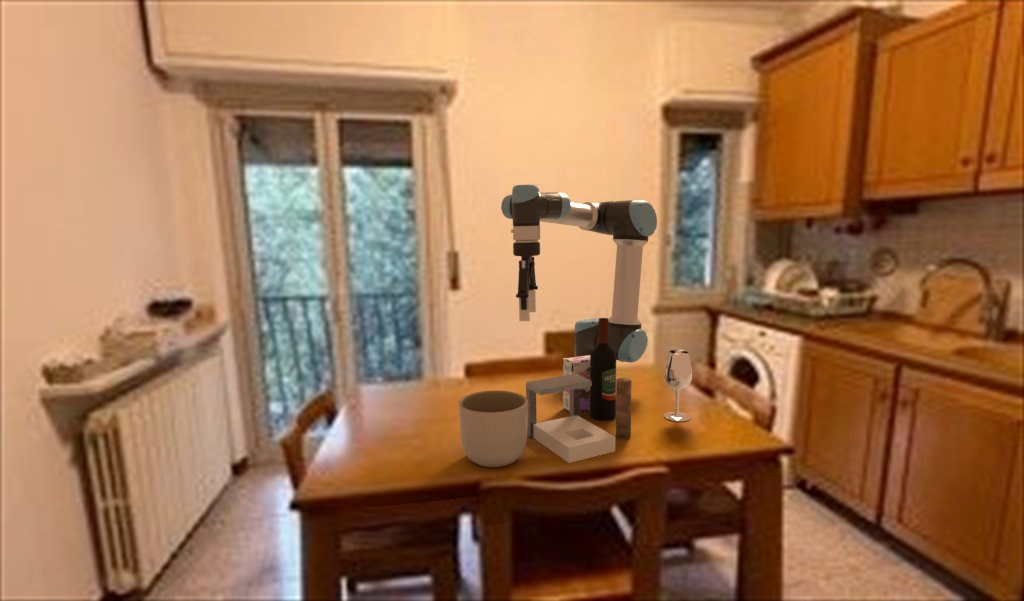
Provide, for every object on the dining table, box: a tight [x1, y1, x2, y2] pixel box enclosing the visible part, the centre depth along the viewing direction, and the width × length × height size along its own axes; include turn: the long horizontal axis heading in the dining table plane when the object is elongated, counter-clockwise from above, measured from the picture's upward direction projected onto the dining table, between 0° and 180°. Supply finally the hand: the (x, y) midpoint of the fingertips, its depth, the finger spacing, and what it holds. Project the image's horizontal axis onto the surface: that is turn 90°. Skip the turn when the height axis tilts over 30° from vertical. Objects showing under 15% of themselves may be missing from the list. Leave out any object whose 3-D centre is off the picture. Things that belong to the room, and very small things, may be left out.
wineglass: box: [663, 349, 693, 422], centre depth 167 cm, size 8×8×20 cm
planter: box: [458, 390, 528, 468], centre depth 140 cm, size 17×17×15 cm
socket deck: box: [532, 415, 616, 464], centre depth 149 cm, size 14×18×4 cm
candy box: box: [562, 355, 590, 413], centre depth 176 cm, size 14×6×16 cm, turn 114°
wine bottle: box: [589, 317, 617, 422], centre depth 167 cm, size 8×8×30 cm
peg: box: [615, 377, 633, 440], centre depth 153 cm, size 4×4×16 cm
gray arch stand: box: [525, 374, 592, 440], centre depth 155 cm, size 16×8×16 cm, turn 117°
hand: (527, 316), depth 160 cm, fingers open, 13 cm apart
